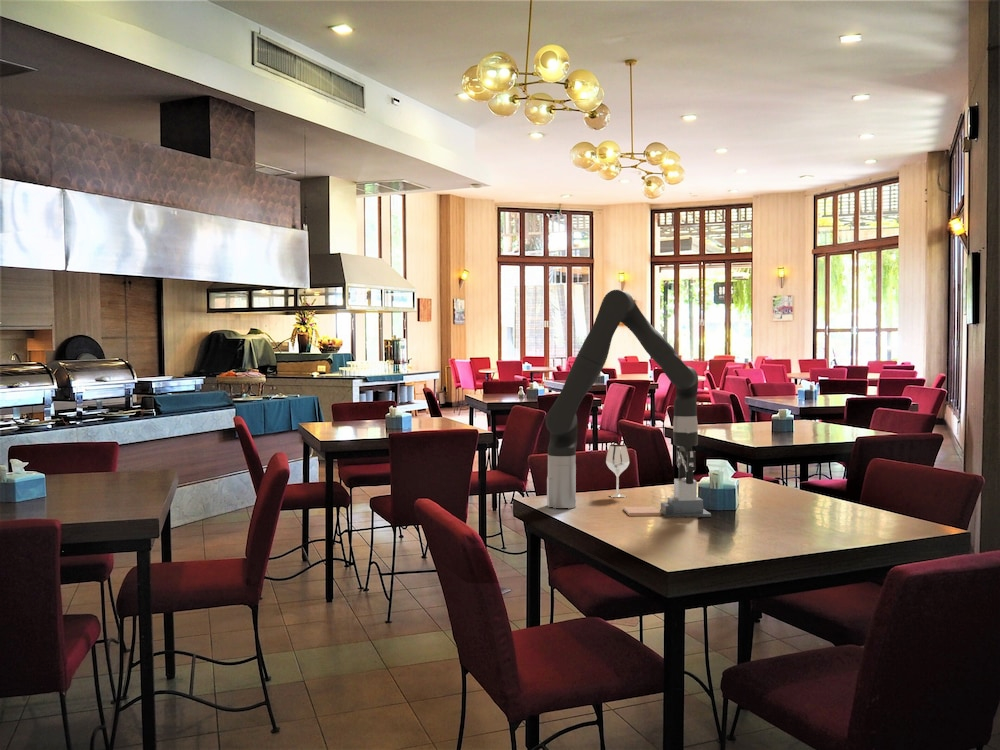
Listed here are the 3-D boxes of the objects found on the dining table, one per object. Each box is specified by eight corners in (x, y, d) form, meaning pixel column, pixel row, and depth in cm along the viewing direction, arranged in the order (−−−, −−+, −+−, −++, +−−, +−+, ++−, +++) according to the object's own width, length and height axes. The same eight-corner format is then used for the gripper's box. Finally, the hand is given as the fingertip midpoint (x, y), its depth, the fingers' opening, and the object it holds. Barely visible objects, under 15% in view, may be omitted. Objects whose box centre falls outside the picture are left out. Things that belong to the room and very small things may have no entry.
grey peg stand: (666, 517, 263) (666, 480, 262) (660, 512, 271) (660, 476, 270) (711, 516, 263) (711, 479, 263) (703, 511, 271) (703, 476, 271)
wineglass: (630, 498, 296) (630, 446, 295) (607, 498, 296) (607, 446, 296) (627, 494, 304) (627, 444, 304) (604, 494, 304) (604, 444, 304)
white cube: (678, 500, 264) (678, 481, 264) (674, 497, 270) (674, 478, 269) (696, 500, 264) (696, 481, 264) (691, 497, 270) (691, 478, 270)
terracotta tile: (628, 516, 265) (629, 512, 265) (622, 509, 275) (622, 506, 275) (660, 515, 266) (660, 512, 266) (653, 509, 276) (653, 506, 276)
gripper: (668, 428, 273) (668, 478, 274) (679, 432, 259) (680, 485, 259) (691, 427, 273) (691, 478, 274) (703, 432, 259) (704, 485, 260)
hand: (686, 481), depth 267 cm, fingers open, 8 cm apart
